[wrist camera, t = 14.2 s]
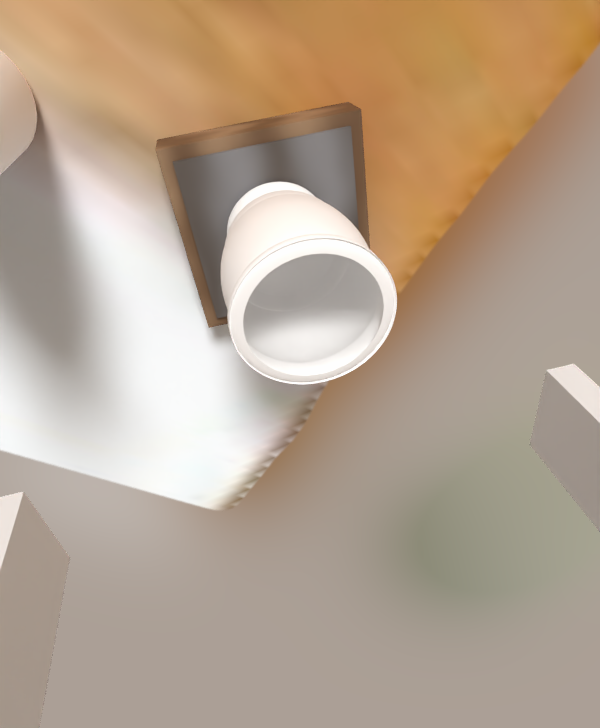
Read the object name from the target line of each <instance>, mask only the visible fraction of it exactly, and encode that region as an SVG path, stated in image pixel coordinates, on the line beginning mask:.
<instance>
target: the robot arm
mask: <svg viewBox="0 0 600 728" xmlns="http://www.w3.org/2000/svg"><path fill="white" fill-rule="evenodd" d="M530 446H531V447H532V448H533V449H534V451H535V452H536V453H537V454H538V456H539V457H540V458H541V459H542V461H543V462H544V463H545V464H546V466H547V467H548V468H549V469H550V471H551V472H552V473H553V474H554V476H555V477H556V478H557V479H558V481H559V482H560V483H561V484H562V486H563V487H564V488H565V489H566V491H567V492H568V493H569V494H570V496H571V497H572V498H573V499H574V501H575V502H576V503H577V504H578V505H579V507H580V508H581V509H582V510H583V512H584V513H585V514H586V515H587V517H588V518H589V519H590V520H591V522H592V523H593V524H594V525H595V526H596V528H597V529H598V530H599V532H600V387H599V386H598V385H597V384H596V383H594V382H593V381H592V380H591V379H590V378H589V377H588V376H587V375H586V374H585V373H584V372H582V371H581V370H580V369H579V368H578V367H577V366H576V365H575V364H571V365H566V366H562V367H558V368H553V369H549V370H546V374H545V379H544V383H543V387H542V392H541V396H540V401H539V405H538V410H537V414H536V418H535V423H534V427H533V432H532V436H531V440H530ZM69 561H70V557H69V556H68V554H67V553H66V551H65V550H64V549H63V547H62V546H61V545H60V543H59V541H58V540H57V539H56V537H55V536H54V534H53V533H52V531H51V530H50V529H49V527H48V526H47V524H46V523H45V521H44V520H43V519H42V517H41V516H40V514H39V513H38V511H37V510H36V508H35V507H34V506H33V504H32V503H31V501H30V500H29V498H28V497H27V496H26V494H25V493H24V492H20V493H16V494H11V495H7V496H3V497H0V728H39V727H40V721H41V716H42V710H43V705H44V699H45V694H46V688H47V683H48V677H49V671H50V666H51V660H52V655H53V649H54V644H55V638H56V632H57V627H58V621H59V616H60V610H61V605H62V599H63V594H64V588H65V583H66V577H67V572H68V566H69Z"/></svg>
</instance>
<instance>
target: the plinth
mask: <svg viewBox="0 0 600 728" xmlns="http://www.w3.org/2000/svg"><path fill="white" fill-rule="evenodd" d="M156 153H157V156H158V160H159V163H160V166H161V170H162V173H163V176H164V180H165V183H166V186H167V190H168V193H169V196H170V200H171V203H172V206H173V210H174V213H175V216H176V220H177V223H178V226H179V230H180V233H181V236H182V240H183V243H184V246H185V250H186V253H187V256H188V260H189V263H190V266H191V270H192V273H193V276H194V280H195V283H196V286H197V290H198V293H199V296H200V300H201V303H202V306H203V310H204V313H205V316H206V320H207V323H208V326H209V327H214V326H218V325H223V324H227V323H228V319H227V313H228V309H227V307H226V304H225V300H224V297H223V292H222V286H221V259H222V254H223V249H224V246H225V241H226V237H227V224H228V220H229V216H230V214H231V212H232V210H233V208H234V206H235V205H236V203H237V202H238V201H239V200H240V199H241V197H243V196H244V195H245V194H246V193H247V192H249V191H250V190H252V189H253V188H255V187H257V186H260V185H262V184H266V183H270V182H289V183H293V184H296V185H299V186H301V187H303V188H305V189H307V190H308V191H309V192H311V193H312V194H313V195H314V196H315V197H316V198H318V199H320V200H322V201H323V202H325V203H327V204H329V205H330V206H332V207H334V208H335V209H336V210H338V211H339V212H341V213H342V214H343V215H344V216H345V217H346V218H347V219H349V220H350V221H351V223H352V224H353V225H354V226H355V227H356V228H357V230H358V231H359V232H360V234H361V235H362V237H363V238H364V240H365V242H366V243H367V245H368V247H369V249H370V242H369V226H368V211H367V195H366V179H365V163H364V147H363V131H362V116H361V109H360V108H358V107H356V106H355V105H353V104H351V103H349V102H346V103H341V104H336V105H331V106H326V107H321V108H316V109H311V110H306V111H301V112H296V113H291V114H286V115H280V116H275V117H270V118H265V119H260V120H255V121H250V122H245V123H240V124H235V125H230V126H225V127H220V128H215V129H210V130H205V131H200V132H195V133H189V134H184V135H179V136H174V137H169V138H164V139H159V140H157V145H156Z"/></svg>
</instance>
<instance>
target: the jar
mask: <svg viewBox="0 0 600 728" xmlns="http://www.w3.org/2000/svg"><path fill="white" fill-rule="evenodd" d="M221 286H222V292H223V297H224V300H225V304H226V307H227V309H228V313H227V319H228V328H229V333H230V336H231V339H232V341H233V344H234V346H235V348H236V350H237V352H238V353H239V355H240V356H241V358H242V359H243V360H244V361H245V362H246V363H247V364H248V365H249V366H250V367H251V368H252V369H254V370H255V371H257V372H258V373H260V374H262V375H263V376H265V377H268V378H270V379H273V380H276V381H279V382H284V383H289V384H314V383H320V382H325V381H329V380H332V379H335V378H338V377H340V376H342V375H345V374H347V373H349V372H350V371H352V370H354V369H356V368H357V367H359V366H360V365H362V364H363V363H364V362H366V361H367V360H368V359H369V358H370V357H371V356H372V355H373V354H374V353H375V352H376V351H377V350H378V349H379V348H380V346H381V345H382V343H383V342H384V341H385V339H386V337H387V336H388V334H389V332H390V330H391V328H392V325H393V322H394V319H395V314H396V308H397V294H396V288H395V284H394V281H393V279H392V276H391V274H390V272H389V271H388V269H387V268H386V266H385V265H384V264H383V262H382V261H381V260H380V259H379V258H378V257H377V256H376V255H375V254H374V253H373V252H372V251H371V250H370V249H369V247H368V245H367V243H366V242H365V240H364V238H363V237H362V235H361V234H360V232H359V231H358V230H357V228H356V227H355V226H354V225H353V224H352V223H351V221H350V220H349V219H347V218H346V217H345V216H344V215H343V214H342V213H341V212H339V211H338V210H336V209H335V208H334V207H332V206H330V205H329V204H327V203H325V202H323V201H322V200H320V199H318V198H316V197H315V196H314V195H313V194H312V193H311V192H309V191H308V190H307V189H305V188H303V187H301V186H299V185H296V184H293V183H289V182H270V183H266V184H262V185H260V186H257V187H255V188H253V189H252V190H250V191H249V192H247V193H246V194H245V195H244V196H243V197H241V199H240V200H239V201H238V202H237V203H236V205H235V206H234V208H233V210H232V212H231V214H230V216H229V220H228V224H227V237H226V241H225V246H224V249H223V254H222V259H221Z"/></svg>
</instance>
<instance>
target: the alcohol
mask: <svg viewBox="0 0 600 728" xmlns="http://www.w3.org/2000/svg"><path fill="white" fill-rule="evenodd" d="M36 127H37V111H36V104H35V100H34V97H33V94H32V91H31V89H30V87H29V85H28V83H27V81H26V79H25V77H24V76H23V74H22V73H21V71H20V70H19V69H18V67H17V66H16V65H15V63H14V62H13V61H12V60H11V59H10V58H9V57H8V56H7V55H6V54H5V53H4V52H2V51H1V50H0V175H1V174H2V173H3V172H4V171H5V170H6V169H7V168H8V167H9V166H10V165H11V164H12V163H13V162H14V161H15V160H16V159H17V158H18V157H19V156H20V155H21V154H22V153H23V152H24V151H25V150H26V149H27V148H28V147H29V145H30V143H31V142H32V140H33V138H34V134H35V131H36Z"/></svg>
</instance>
